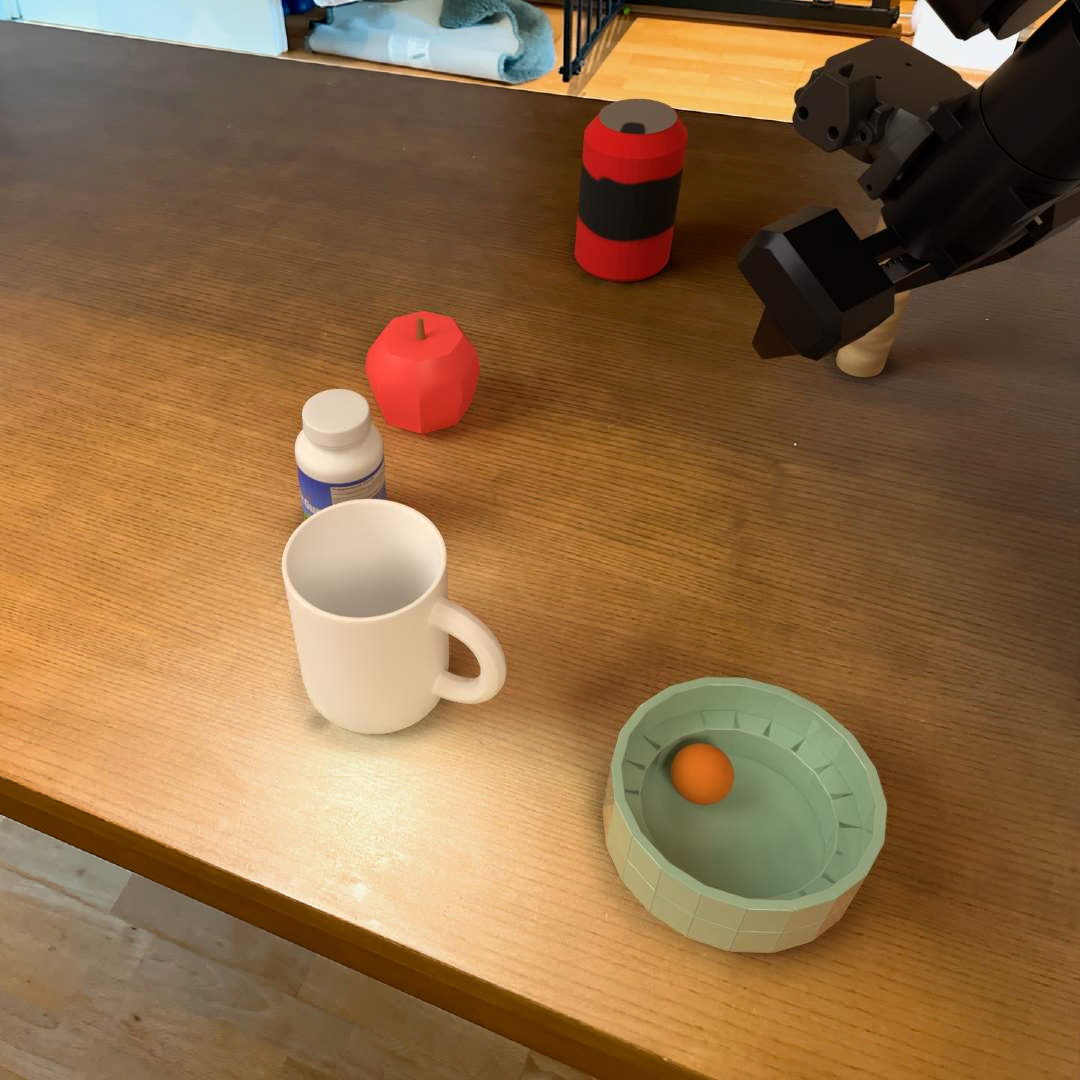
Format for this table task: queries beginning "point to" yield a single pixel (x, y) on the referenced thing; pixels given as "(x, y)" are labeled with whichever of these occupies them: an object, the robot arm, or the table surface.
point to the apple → (422, 372)
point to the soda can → (629, 189)
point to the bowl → (744, 815)
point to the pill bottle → (338, 452)
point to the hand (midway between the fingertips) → (820, 319)
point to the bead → (702, 774)
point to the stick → (873, 339)
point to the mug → (380, 618)
